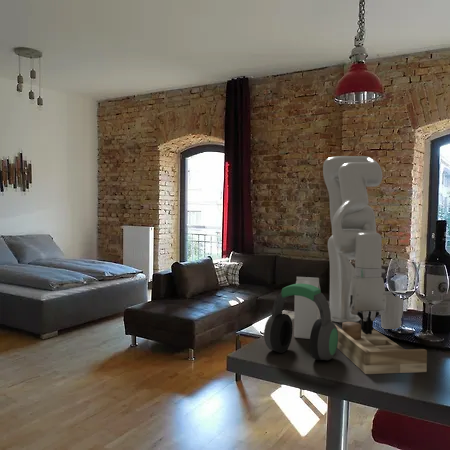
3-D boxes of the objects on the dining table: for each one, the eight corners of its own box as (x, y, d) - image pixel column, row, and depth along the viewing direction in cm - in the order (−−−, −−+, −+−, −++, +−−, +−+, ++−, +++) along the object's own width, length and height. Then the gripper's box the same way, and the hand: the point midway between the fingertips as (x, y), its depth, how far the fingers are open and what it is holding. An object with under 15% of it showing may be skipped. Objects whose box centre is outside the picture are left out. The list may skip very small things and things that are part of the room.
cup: (405, 332, 151) (406, 296, 150) (380, 331, 152) (381, 295, 152) (401, 326, 158) (401, 291, 158) (377, 324, 160) (377, 291, 159)
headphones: (339, 355, 127) (340, 285, 126) (326, 367, 118) (327, 291, 117) (278, 344, 137) (278, 278, 137) (261, 354, 128) (261, 284, 127)
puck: (339, 334, 140) (339, 321, 140) (356, 334, 141) (356, 321, 140) (346, 340, 134) (346, 326, 134) (363, 339, 135) (364, 326, 135)
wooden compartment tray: (325, 336, 145) (325, 319, 145) (373, 335, 147) (373, 318, 147) (365, 374, 114) (365, 352, 113) (426, 371, 115) (427, 350, 115)
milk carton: (298, 331, 151) (298, 275, 150) (319, 334, 149) (320, 276, 148) (294, 337, 144) (294, 278, 143) (316, 340, 142) (317, 279, 141)
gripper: (385, 270, 142) (384, 329, 143) (339, 271, 140) (338, 330, 141) (397, 274, 134) (396, 336, 135) (348, 275, 133) (347, 337, 134)
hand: (367, 333), depth 138 cm, fingers closed
